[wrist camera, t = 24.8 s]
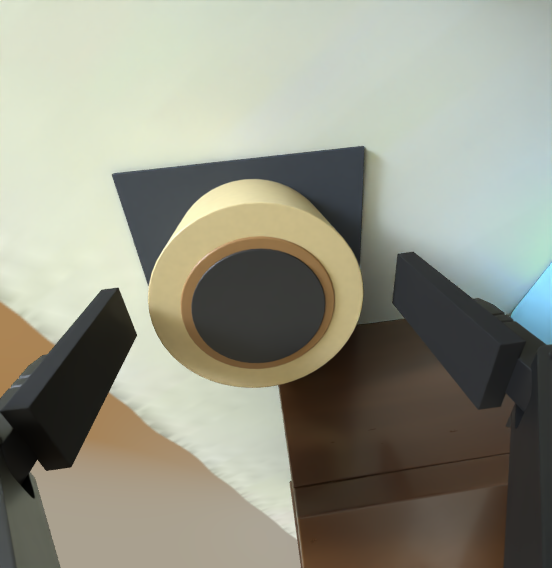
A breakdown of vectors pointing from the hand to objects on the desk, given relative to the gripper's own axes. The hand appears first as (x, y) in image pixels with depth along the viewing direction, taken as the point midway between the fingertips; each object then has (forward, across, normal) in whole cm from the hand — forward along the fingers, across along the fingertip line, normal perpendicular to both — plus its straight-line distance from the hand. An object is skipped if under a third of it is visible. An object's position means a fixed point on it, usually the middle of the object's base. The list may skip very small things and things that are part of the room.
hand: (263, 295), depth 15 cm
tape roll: (+5, 0, 0) cm, 5 cm away
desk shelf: (+6, +7, -17) cm, 19 cm away
